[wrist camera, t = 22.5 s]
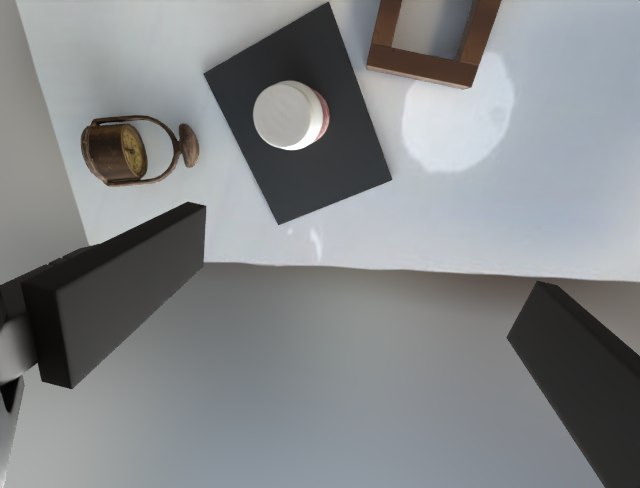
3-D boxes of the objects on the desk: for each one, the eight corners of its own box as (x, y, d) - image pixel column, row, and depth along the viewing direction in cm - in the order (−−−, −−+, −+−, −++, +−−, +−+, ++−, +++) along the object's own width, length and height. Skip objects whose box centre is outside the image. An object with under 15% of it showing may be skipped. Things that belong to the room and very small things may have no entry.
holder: (463, 89, 34) (471, 87, 32) (366, 68, 35) (366, 65, 32) (506, -36, 30) (518, -49, 28) (394, -58, 30) (396, -72, 28)
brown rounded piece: (68, 84, 34) (55, 175, 36) (174, 117, 33) (155, 209, 34) (120, 104, 41) (106, 178, 43) (208, 132, 40) (191, 207, 41)
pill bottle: (314, 77, 35) (295, 59, 25) (339, 128, 37) (330, 132, 27) (269, 105, 37) (233, 99, 26) (294, 153, 39) (270, 166, 28)
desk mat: (392, 179, 39) (392, 180, 38) (279, 224, 43) (278, 225, 42) (328, 2, 33) (328, 1, 32) (204, 74, 37) (203, 73, 36)
